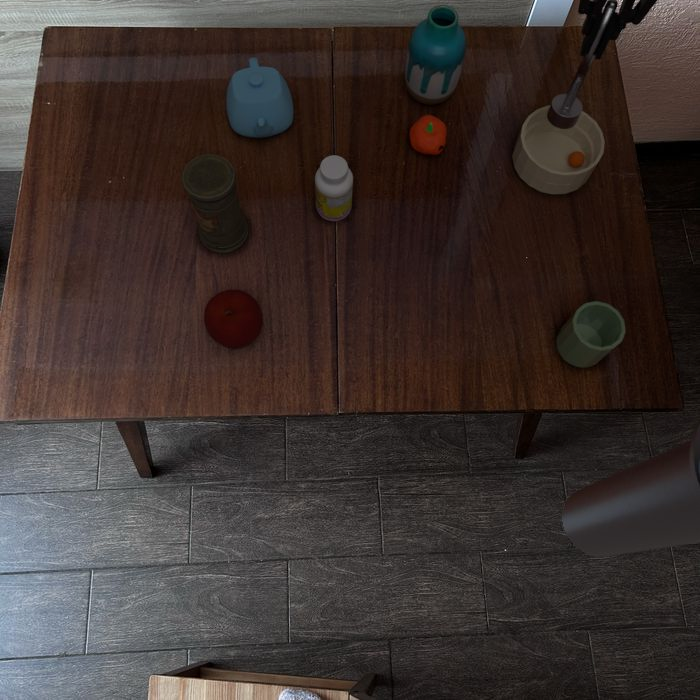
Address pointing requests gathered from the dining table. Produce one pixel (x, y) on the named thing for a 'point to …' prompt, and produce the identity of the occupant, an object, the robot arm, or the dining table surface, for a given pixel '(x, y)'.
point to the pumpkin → (428, 135)
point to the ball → (576, 159)
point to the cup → (590, 334)
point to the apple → (233, 319)
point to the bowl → (556, 152)
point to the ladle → (579, 78)
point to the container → (215, 203)
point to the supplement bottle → (333, 188)
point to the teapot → (259, 101)
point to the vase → (435, 56)
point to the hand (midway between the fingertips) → (591, 50)
